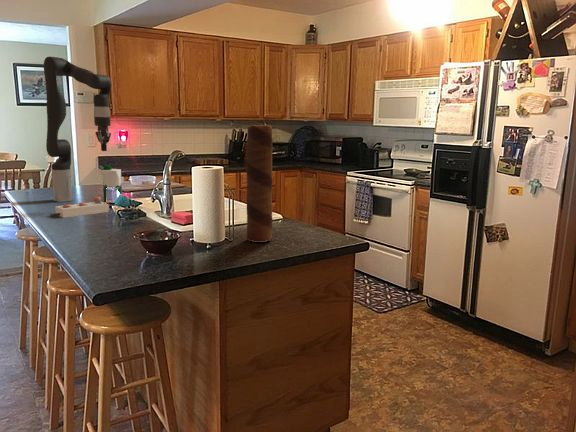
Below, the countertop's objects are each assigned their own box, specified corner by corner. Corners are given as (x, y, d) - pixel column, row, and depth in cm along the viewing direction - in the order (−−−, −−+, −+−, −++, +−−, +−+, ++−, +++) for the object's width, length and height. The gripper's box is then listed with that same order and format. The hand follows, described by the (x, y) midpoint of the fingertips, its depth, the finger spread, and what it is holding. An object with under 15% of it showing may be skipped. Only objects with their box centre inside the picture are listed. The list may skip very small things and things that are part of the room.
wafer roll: (248, 244, 182) (249, 124, 173) (243, 238, 192) (244, 124, 183) (275, 243, 185) (277, 125, 176) (269, 236, 195) (270, 124, 186)
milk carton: (108, 200, 265) (106, 164, 261) (124, 201, 265) (122, 165, 261) (101, 203, 257) (99, 166, 253) (118, 204, 257) (116, 166, 252)
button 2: (78, 208, 231) (78, 203, 231) (84, 207, 233) (84, 202, 233) (80, 209, 229) (80, 203, 229) (87, 208, 231) (86, 203, 231)
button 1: (62, 210, 226) (61, 204, 225) (68, 209, 228) (68, 204, 228) (64, 211, 224) (64, 205, 223) (71, 210, 226) (71, 205, 226)
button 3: (93, 202, 236) (93, 197, 236) (99, 201, 238) (99, 196, 238) (96, 203, 234) (95, 198, 234) (102, 202, 236) (101, 197, 236)
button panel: (47, 215, 224) (46, 206, 223) (101, 209, 243) (100, 200, 242) (54, 219, 218) (53, 209, 217) (109, 211, 236) (108, 202, 235)
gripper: (89, 115, 241) (91, 150, 244) (100, 116, 232) (102, 152, 235) (103, 116, 246) (105, 149, 250) (115, 116, 237) (117, 151, 240)
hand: (104, 151), depth 242 cm, fingers closed
